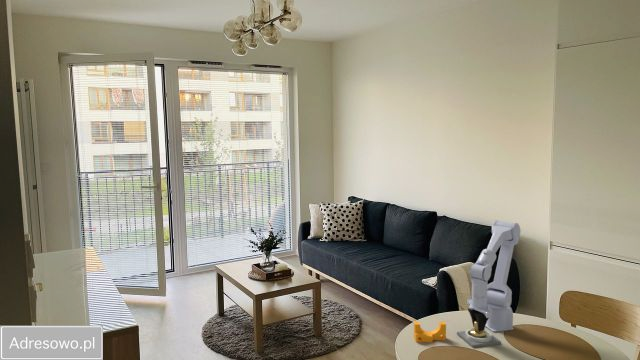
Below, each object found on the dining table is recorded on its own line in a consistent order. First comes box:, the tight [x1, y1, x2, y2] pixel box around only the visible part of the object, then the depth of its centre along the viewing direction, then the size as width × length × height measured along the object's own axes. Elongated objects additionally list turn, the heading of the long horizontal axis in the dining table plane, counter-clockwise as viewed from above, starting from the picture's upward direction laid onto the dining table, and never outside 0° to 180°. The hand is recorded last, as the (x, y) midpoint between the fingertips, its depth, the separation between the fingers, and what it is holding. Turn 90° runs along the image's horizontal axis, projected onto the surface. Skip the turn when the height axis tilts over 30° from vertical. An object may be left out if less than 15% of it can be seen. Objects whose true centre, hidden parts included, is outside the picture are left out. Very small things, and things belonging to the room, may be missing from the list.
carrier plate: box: [456, 328, 502, 348], centre depth 185 cm, size 12×12×2 cm
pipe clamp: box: [413, 321, 447, 343], centre depth 185 cm, size 12×4×6 cm, turn 89°
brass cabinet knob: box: [470, 320, 487, 337], centre depth 184 cm, size 6×6×5 cm
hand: (478, 328), depth 184 cm, fingers closed on brass cabinet knob, 3 cm apart
